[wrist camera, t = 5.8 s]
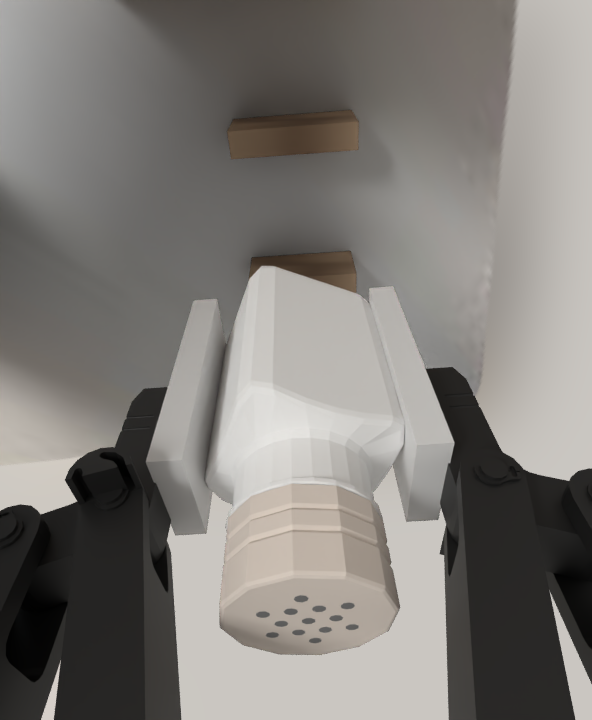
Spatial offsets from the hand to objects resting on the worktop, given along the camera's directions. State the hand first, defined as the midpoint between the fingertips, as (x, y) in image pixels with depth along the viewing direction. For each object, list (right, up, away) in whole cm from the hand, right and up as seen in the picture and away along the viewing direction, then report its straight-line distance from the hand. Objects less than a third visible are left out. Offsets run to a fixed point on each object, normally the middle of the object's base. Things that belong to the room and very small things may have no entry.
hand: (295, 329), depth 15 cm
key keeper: (0, +8, +11) cm, 13 cm away
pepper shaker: (0, 0, 0) cm, 1 cm away
